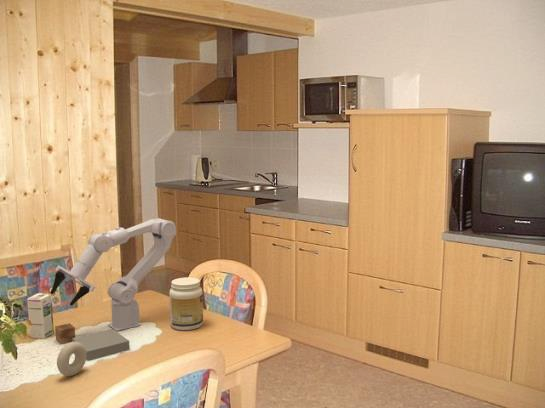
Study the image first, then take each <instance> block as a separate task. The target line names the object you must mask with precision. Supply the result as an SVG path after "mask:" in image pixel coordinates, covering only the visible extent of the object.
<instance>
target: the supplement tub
mask: <svg viewBox="0 0 545 408" xmlns="http://www.w3.org/2000/svg"><path fill="white" fill-rule="evenodd" d="M170 286H171V288H170V289H169V293H168V294H169V323H170V326H171V327H172V328H173V329H174V330H179V331H191V330H195V329H199V328H200V327H201V326H202V325H203V324H204V304H203V303H204V301H203V300H204V299H203V296H204V295H203V288H202V287H201V281H200V279H199V278H196V277H190V276H189V277H178V278H175V279H173V280H171V284H170Z"/></svg>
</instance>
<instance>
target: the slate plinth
mask: <svg viewBox="0 0 545 408" xmlns="http://www.w3.org/2000/svg"><path fill="white" fill-rule="evenodd" d="M72 342H79V343H81V344H82V345H83V346H84V347H85V349H86V353H87V355H86V362H87V361H92V360H96V359H99V358H102V357H107V356H111V355H114V354H118V353H122V352H126V351H129V350H130V349H131V347H130V340H129V339H127V338H126V337H125V336H123V335H122V334H121V333H119V332H118V331H116V330H114V329H113V328H110V329H106V330H101V331H97V332H92V333H89V334H88V333H87V334H84V335H80V336H75V338H72Z"/></svg>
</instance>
